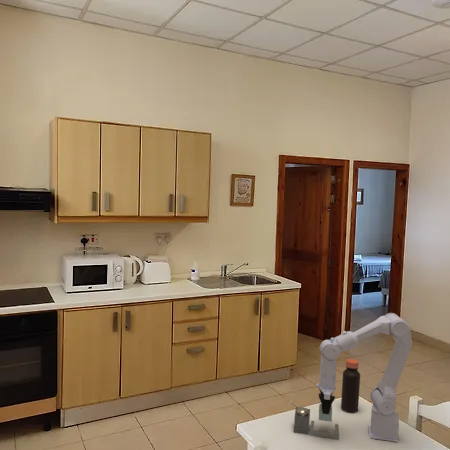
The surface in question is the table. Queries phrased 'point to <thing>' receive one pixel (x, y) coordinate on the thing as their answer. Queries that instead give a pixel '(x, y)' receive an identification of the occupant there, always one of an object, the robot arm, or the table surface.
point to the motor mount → (303, 425)
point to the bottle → (350, 387)
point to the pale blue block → (325, 416)
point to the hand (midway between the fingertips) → (325, 410)
